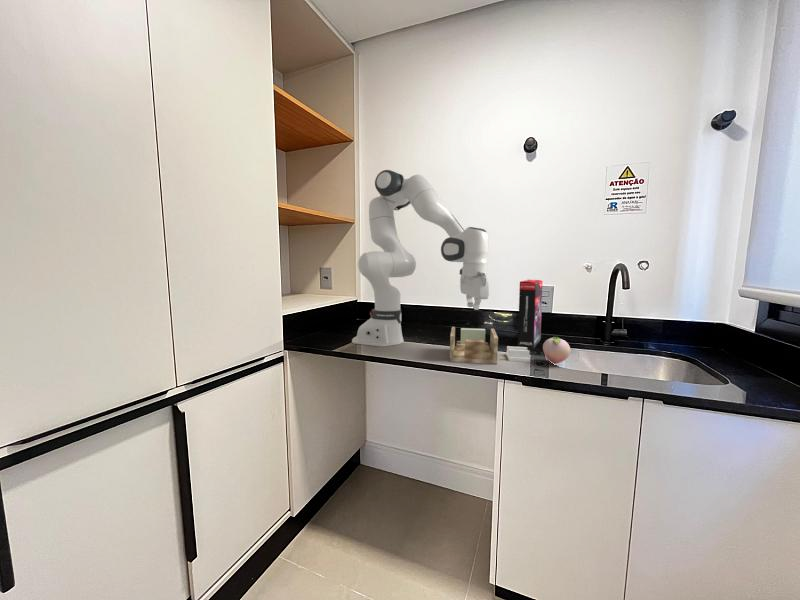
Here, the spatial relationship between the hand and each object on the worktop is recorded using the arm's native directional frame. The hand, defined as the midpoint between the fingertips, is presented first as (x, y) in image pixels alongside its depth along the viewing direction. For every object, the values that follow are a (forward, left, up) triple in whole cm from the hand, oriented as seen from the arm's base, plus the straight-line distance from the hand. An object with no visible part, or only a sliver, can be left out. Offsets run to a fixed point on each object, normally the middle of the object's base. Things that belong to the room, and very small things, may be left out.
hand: (472, 308), depth 125 cm
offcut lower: (0, -11, -16) cm, 19 cm away
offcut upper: (+1, -11, -13) cm, 17 cm away
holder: (+16, -4, -17) cm, 24 cm away
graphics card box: (+24, +19, -18) cm, 35 cm away
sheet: (0, 0, -16) cm, 16 cm away
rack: (0, -5, -17) cm, 18 cm away
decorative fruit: (+28, -8, -18) cm, 34 cm away
